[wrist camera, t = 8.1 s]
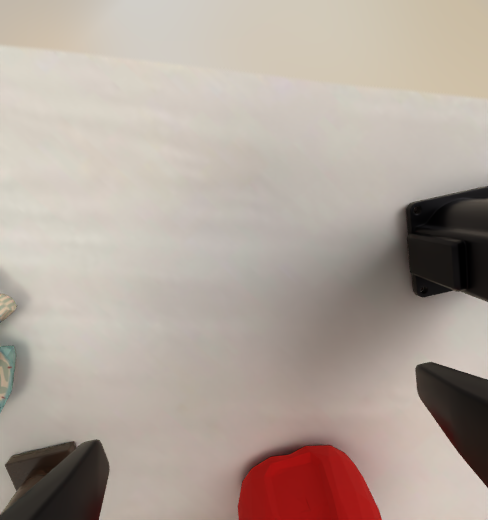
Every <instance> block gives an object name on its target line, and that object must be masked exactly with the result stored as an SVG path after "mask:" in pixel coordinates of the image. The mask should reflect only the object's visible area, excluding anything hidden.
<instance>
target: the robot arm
mask: <svg viewBox="0 0 488 520" xmlns="http://www.w3.org/2000/svg"><path fill="white" fill-rule="evenodd" d="M415 207H417V212H416V213H414V208H415ZM406 214H407V225H408V237H407V242H408V253H409V264H410V272H411V273H412V280H413V290H414V293H415V294H416V295H418V296H420V297H427V296H431V295H436V294H440V293H445V292H449V291H453V290H454V291H461V292H464V293H466V294H469V295H471V296H474V297H477V298H479V299H482V300H484V301H487V302H488V186H485V187H480V188H476V189H471V190H467V191H462V192H457V193H453V194H448V195H444V196H439V197H435V198H430V199H425V200H421V201H416V202H412V203H410V204H409V205H408V206H407V209H406ZM422 287H424V290H423V291H422V292H421V288H422ZM416 382H417V391H418V394H419V397H420V399H421V400H422V402H423V403H424V405H425V406H426V407H427V409H428V410H429V412H430V413H431V415H432V416H433V417H434V419H435V420H436V422H437V423H438V425H439V426H440V427H441V429H442V430H443V432H444V433H445V435H446V436H447V437H448V439H449V440H450V442H451V443H452V444H453V446H454V447H455V448H456V450H457V451H458V453H459V454H460V455H461V456H462V457H463V459H464V460H465V461H466V462H467V464H468V465H469V466H470V467H471V468H472V469H473V471H474V472H475V473H476V474H477V475H478V477H479V478H480V479H481V480H482V481H483V483H484V484H485V485H486V486H487V487H488V380H487V379H483V378H480V377H477V376H474V375H471V374H468V373H464V372H461V371H458V370H455V369H452V368H449V367H446V366H442V365H439V364H436V363H433V362H428V363H423V364H419V365H417V366H416ZM108 476H109V462H108V459H107V457H106V454H105V451H104V449H103V446H102V443H101V442H100V440H97V439H96V440H92V441H87V442H84V443H82V444H81V445H80V446H78V447H77V448H76V449H75V450H74V451H73V452H72V453H70V454H69V455H68V456H67V457H66V458H65V459H64V460H62V461H61V462H60V463H59V464H58V465H57V466H56V467H55V468H53V469H52V470H51V471H50V472H49V473H48V474H47V475H45V476H44V477H43V478H42V479H41V480H40V481H39V482H37V483H36V484H35V485H34V486H33V487H32V488H31V489H29V490H28V491H27V492H26V493H25V494H24V495H23V496H22V497H20V498H19V499H18V500H17V501H16V502H15V503H14V504H12V505H11V506H10V507H9V508H8V509H7V510H6V511H4V512H3V513H2V514H1V515H0V520H99V516H100V512H101V507H102V503H103V498H104V494H105V489H106V485H107V480H108Z"/></svg>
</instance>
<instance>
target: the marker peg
mask: <svg viewBox="0 0 488 520" xmlns="http://www.w3.org/2000/svg"><path fill="white" fill-rule="evenodd" d="M75 449H76V446H75V444H74V442H69V443H65V444H60V445H56V446H52V447H48V448H43V449H39V450H35V451H31V452H26V453H22V454H18V455H14V456H12V457H11V458H10V459H9V460H8V462H7V463H6V464H5V467H6V469H7V471H8V473H9V476H10V478H11V480H12V482H13V484H14V487H15V489H16V491H17V492H16V493H15V495H14V496H13V497H12V499H11V500H10V502H9V503H8V505H7V506H6V507H5V509H4V510H3V512H4V511H6V510H7V509H8V508H9V507H10V506H11V505H12V504H14V503H15V502H16V501H17V500H18V499H19V498H20V497H22V496H23V495H24V494H25V493H26V492H27V491H28V490H29V489H31V488H32V487H33V486H34V485H35V484H36V483H37V482H39V481H40V480H41V479H42V478H43V477H44V476H45V475H47V474H48V473H49V472H50V471H51V470H52V469H53V468H55V467H56V466H57V465H58V464H59V463H60V462H61V461H62V460H64V459H65V458H66V457H67V456H68V455H69V454H70V453H72V452H73V451H74V450H75ZM3 512H2V513H3ZM2 513H1V514H2Z"/></svg>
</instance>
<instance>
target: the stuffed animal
mask: <svg viewBox="0 0 488 520" xmlns="http://www.w3.org/2000/svg"><path fill="white" fill-rule="evenodd" d="M16 307H17V306H16V304H15V302H14V301H13V299H12V298H11V297H9V296H7V295H5V294H0V323H1V322H2V321H3V320H4V319H6V318H7V317H8V316H9V315H10V314H11V313H12V312H13V311H14V310H15V309H16ZM15 360H16V353H15V349H14V346H0V413H1V411H2V409H3V407H4V405H5V403H6V401H7V399H8V397H9V395H10V393H11V391H12V385H13V379H14V370H15Z"/></svg>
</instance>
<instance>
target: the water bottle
mask: <svg viewBox="0 0 488 520" xmlns="http://www.w3.org/2000/svg"><path fill="white" fill-rule="evenodd" d="M238 515H239V520H382V519H381V515H380V512H379V509H378V507H377V505H376V503H375V501H374V499H373V497H372V495H371V493H370V491H369V488H368V486H367V484H366V482H365V480H364V478H363V476H362V475H361V473H360V472H359V470H358V469H357V467H356V466H355V464H354V463H353V462H352V461H351V460H350V458H349V457H348V456H347V455H346V454H345V453H344V452H342V451H340V450H338V449H336V448H334V447H332V446H330V445H318V446H304V447H303V448H301V449H299V450H297V451H295V452H293V453H292V454H290V455H282V456H272V457H270V458H268V459H266V460H265V461H263V462H261V463H260V464H258V465H257V466H255V467H253V468H252V469H251V470H250V472H249V473H248V474H247V476H246V477H245V479H244V480H243V481H242V487H241V492H240V498H239V503H238Z"/></svg>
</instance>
